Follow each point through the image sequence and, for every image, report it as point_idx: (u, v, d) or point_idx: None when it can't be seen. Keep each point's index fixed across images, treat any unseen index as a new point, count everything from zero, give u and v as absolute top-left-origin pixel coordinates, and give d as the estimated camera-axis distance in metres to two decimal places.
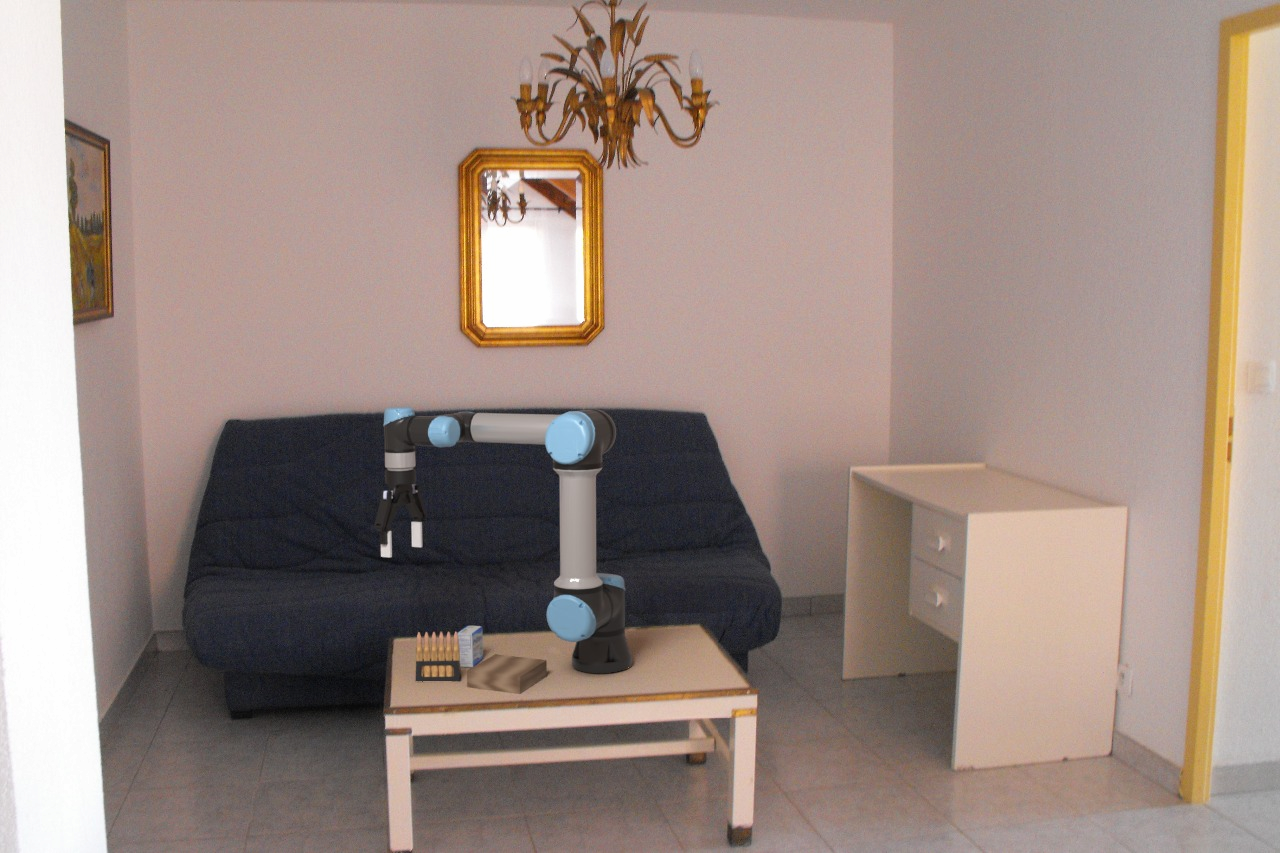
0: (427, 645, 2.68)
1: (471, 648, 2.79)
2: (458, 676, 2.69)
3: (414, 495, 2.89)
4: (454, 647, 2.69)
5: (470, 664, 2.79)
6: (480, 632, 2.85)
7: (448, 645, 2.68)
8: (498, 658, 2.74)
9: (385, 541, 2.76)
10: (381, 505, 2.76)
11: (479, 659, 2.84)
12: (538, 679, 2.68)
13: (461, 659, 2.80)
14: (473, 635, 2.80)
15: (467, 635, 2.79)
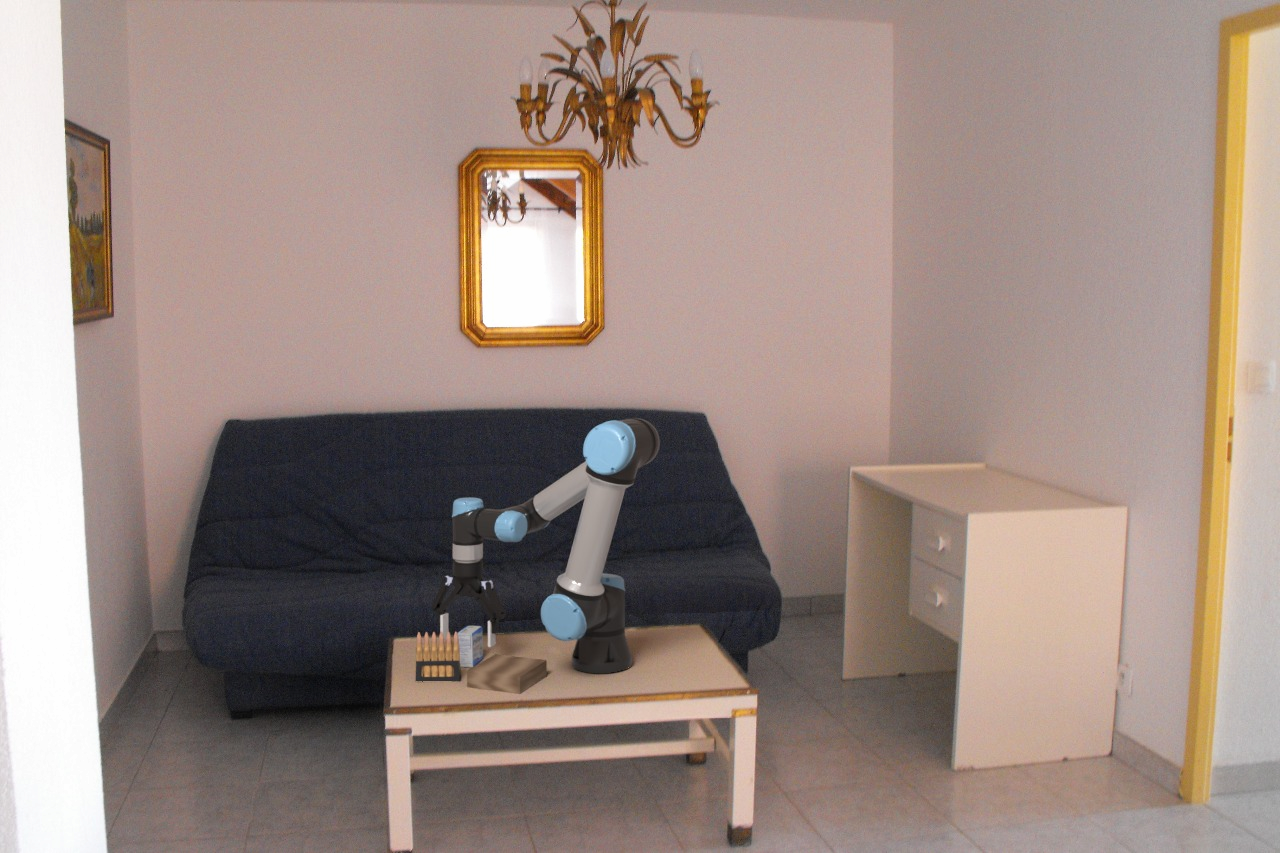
0: (427, 645, 2.68)
1: (471, 648, 2.79)
2: (458, 676, 2.69)
3: None
4: (454, 647, 2.69)
5: (470, 664, 2.79)
6: (480, 632, 2.85)
7: (448, 645, 2.68)
8: (498, 658, 2.74)
9: (438, 623, 2.85)
10: None
11: (479, 659, 2.84)
12: (538, 679, 2.68)
13: (461, 659, 2.80)
14: (473, 635, 2.80)
15: (467, 636, 2.79)
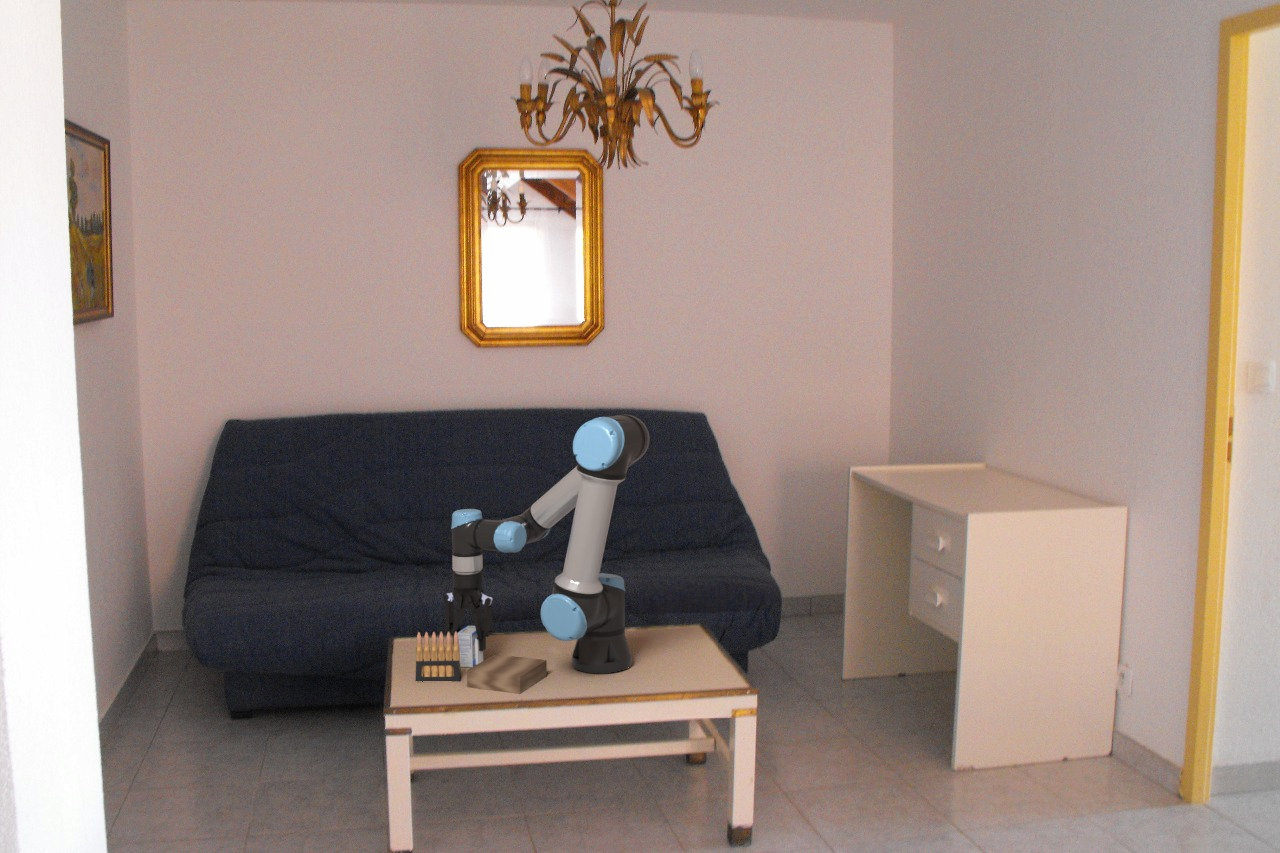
0: (427, 645, 2.68)
1: (471, 648, 2.79)
2: (458, 676, 2.69)
3: None
4: (454, 647, 2.69)
5: (470, 664, 2.79)
6: None
7: (448, 645, 2.68)
8: (498, 658, 2.74)
9: None
10: None
11: None
12: (538, 679, 2.68)
13: (461, 659, 2.80)
14: (473, 635, 2.80)
15: (467, 635, 2.79)
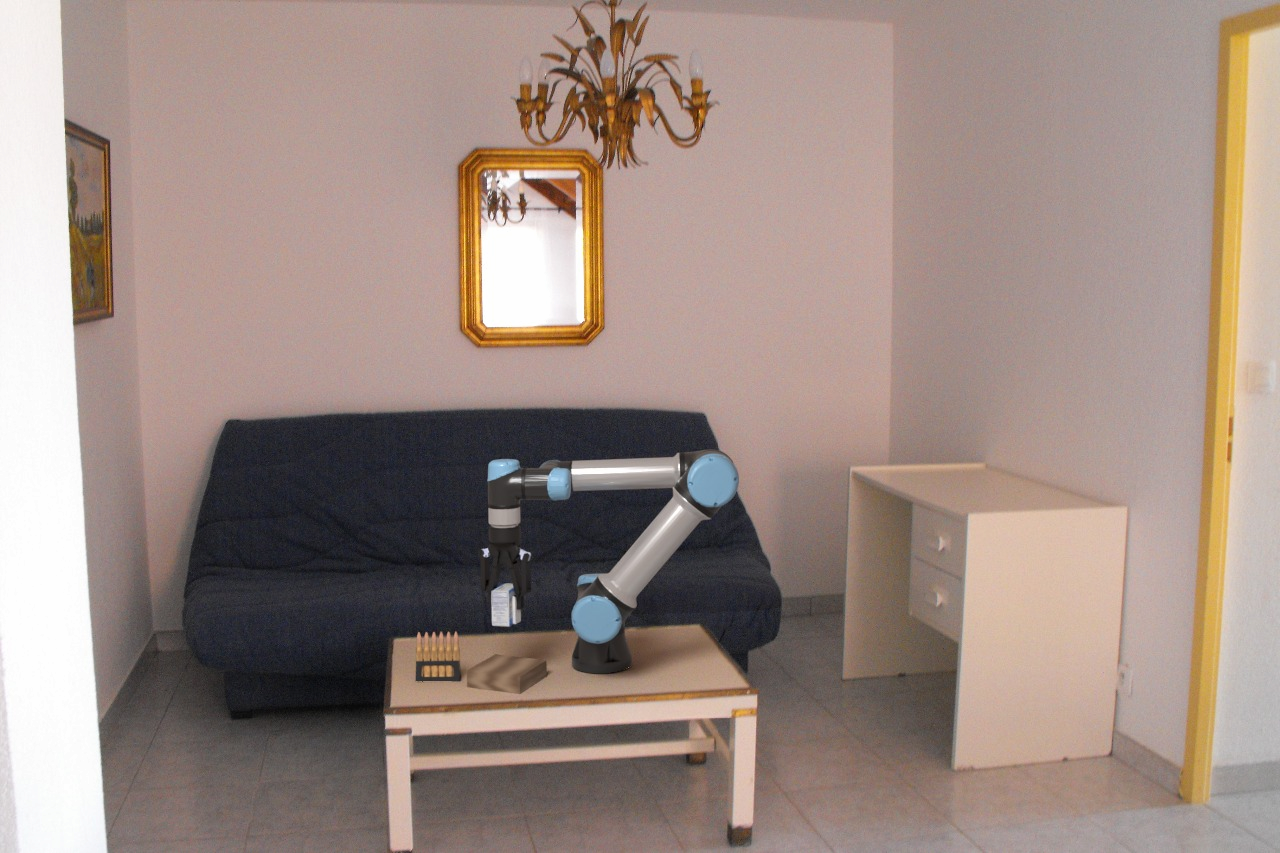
0: (427, 645, 2.68)
1: (508, 606, 2.63)
2: (458, 676, 2.69)
3: None
4: (454, 647, 2.69)
5: (507, 623, 2.63)
6: None
7: (448, 645, 2.68)
8: (498, 658, 2.74)
9: (489, 603, 2.68)
10: None
11: None
12: (538, 679, 2.68)
13: (497, 618, 2.64)
14: (510, 592, 2.64)
15: (504, 593, 2.63)
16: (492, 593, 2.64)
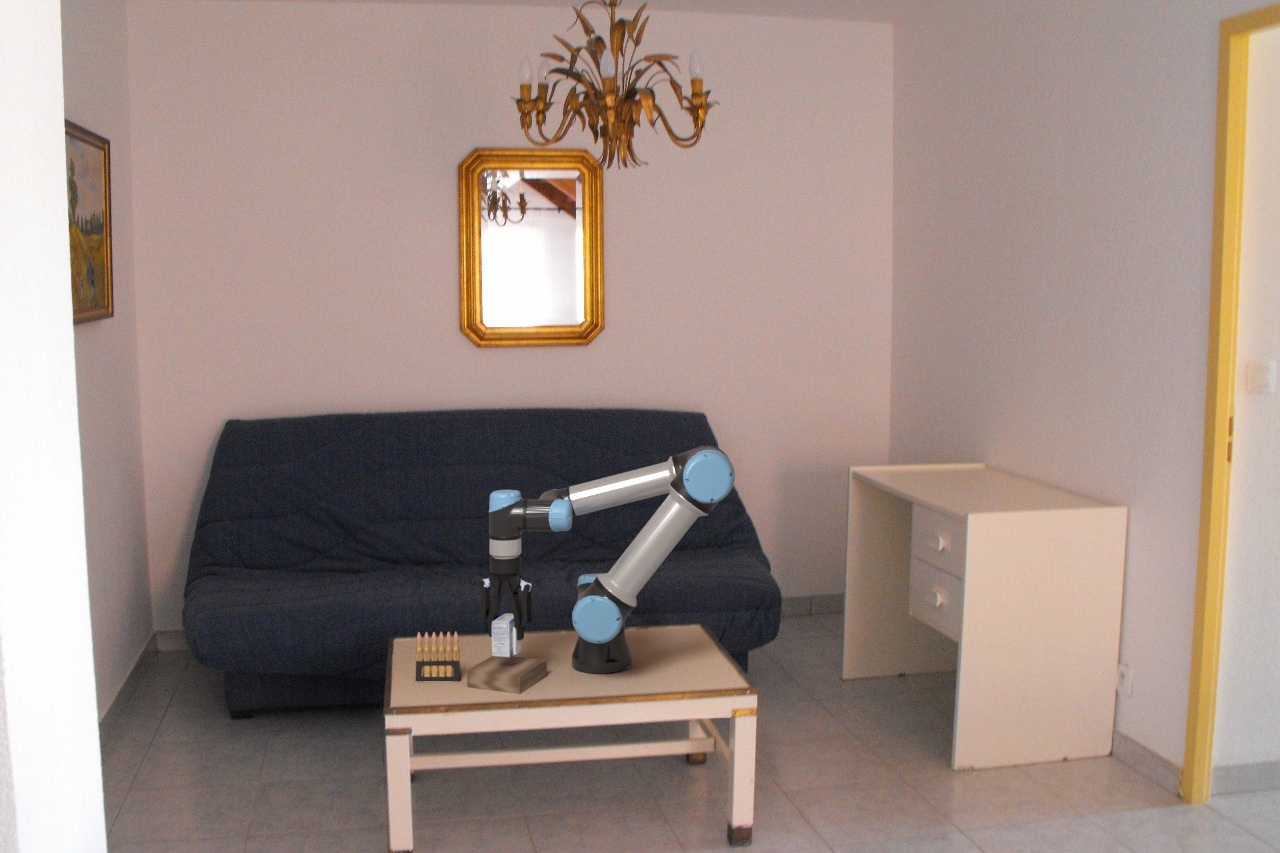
0: (427, 645, 2.68)
1: (508, 637, 2.63)
2: (458, 676, 2.69)
3: None
4: (454, 647, 2.69)
5: (507, 653, 2.64)
6: None
7: (448, 645, 2.68)
8: (498, 658, 2.74)
9: (490, 633, 2.68)
10: None
11: None
12: (538, 679, 2.68)
13: (497, 648, 2.64)
14: (511, 623, 2.64)
15: (504, 624, 2.63)
16: (493, 624, 2.64)
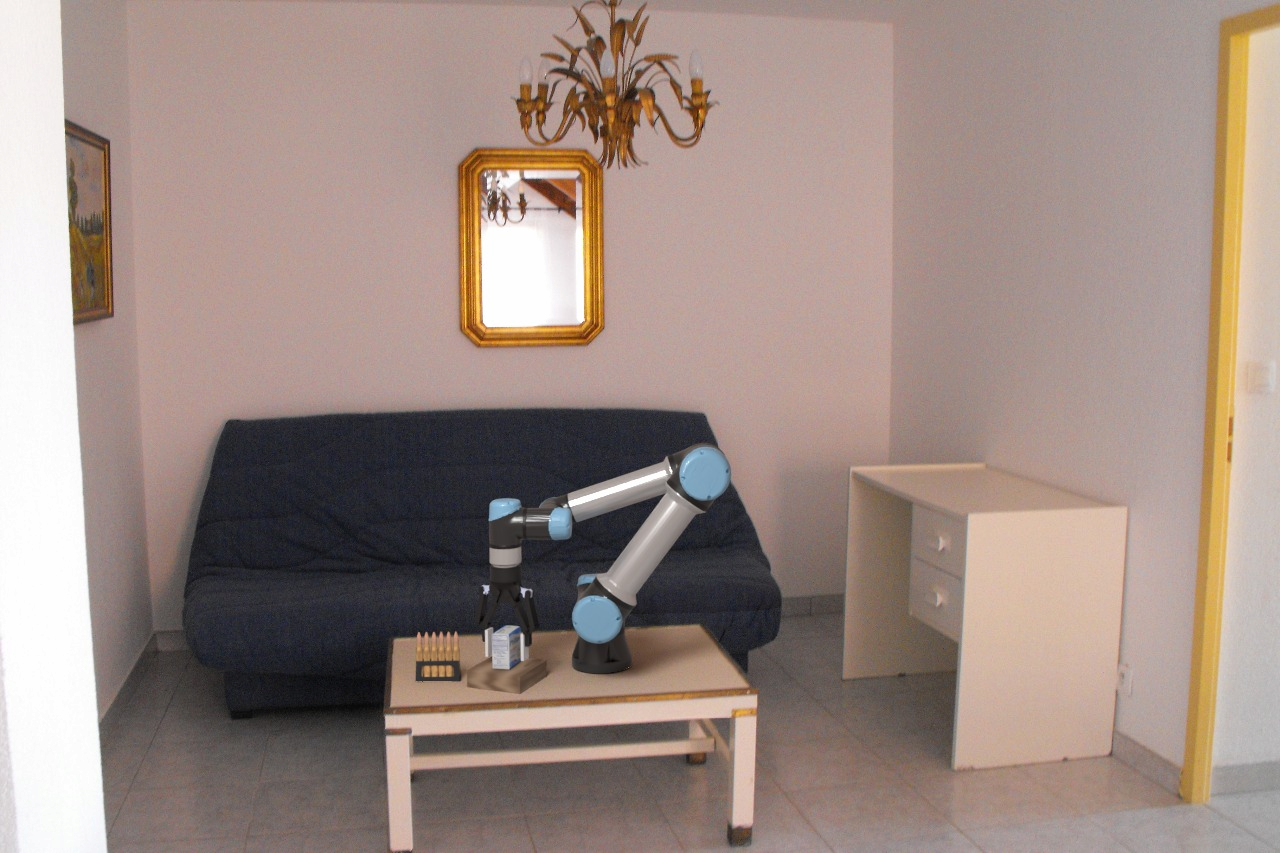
0: (427, 645, 2.68)
1: (508, 649, 2.64)
2: (458, 676, 2.69)
3: None
4: (454, 647, 2.69)
5: (507, 666, 2.64)
6: (518, 632, 2.69)
7: (448, 645, 2.68)
8: None
9: (483, 638, 2.69)
10: None
11: (517, 661, 2.69)
12: (538, 679, 2.68)
13: (497, 661, 2.65)
14: (510, 635, 2.65)
15: (504, 636, 2.64)
16: (492, 636, 2.64)
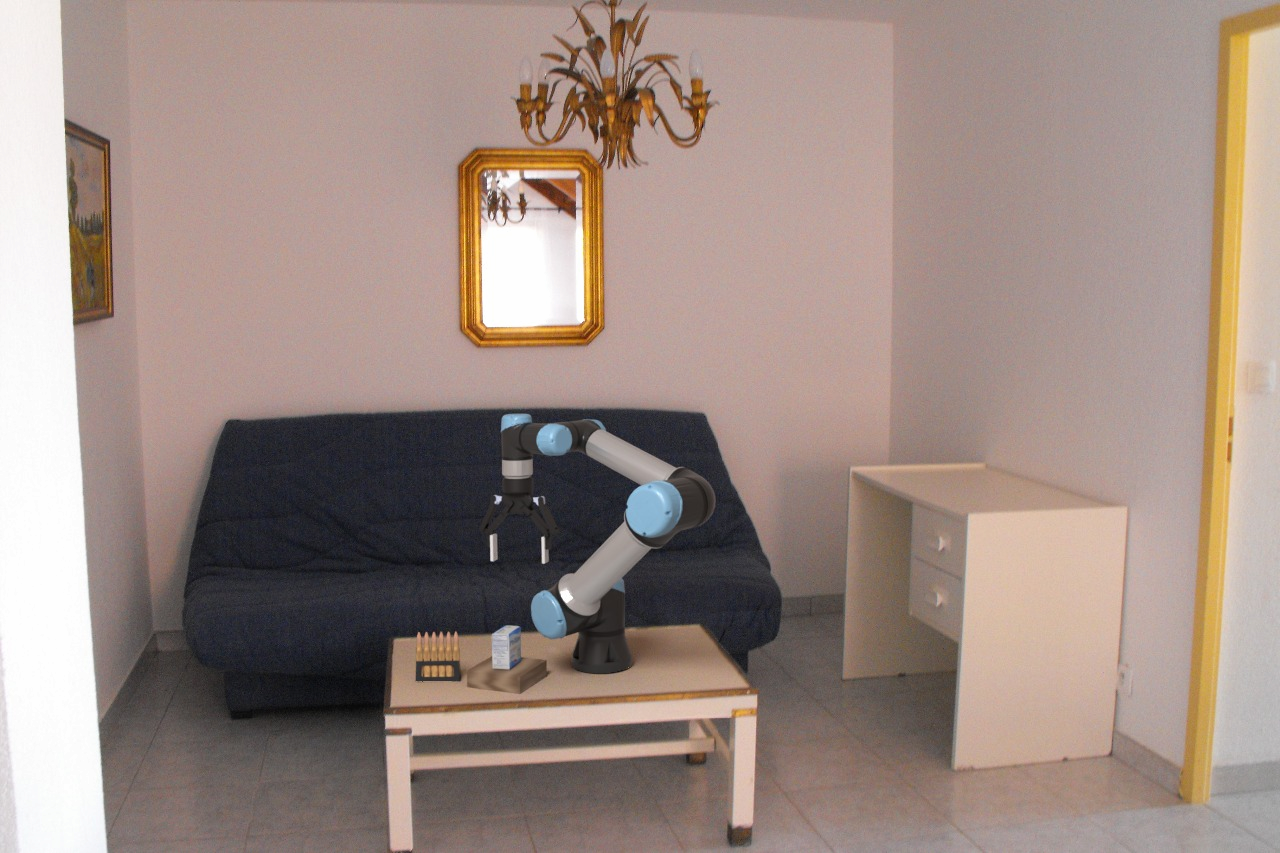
0: (427, 645, 2.68)
1: (508, 649, 2.64)
2: (458, 676, 2.69)
3: None
4: (454, 647, 2.69)
5: (507, 666, 2.64)
6: (518, 632, 2.69)
7: (448, 645, 2.68)
8: None
9: (488, 544, 2.80)
10: None
11: (517, 661, 2.69)
12: (538, 679, 2.68)
13: (497, 661, 2.65)
14: (510, 635, 2.65)
15: (504, 636, 2.64)
16: (492, 636, 2.64)
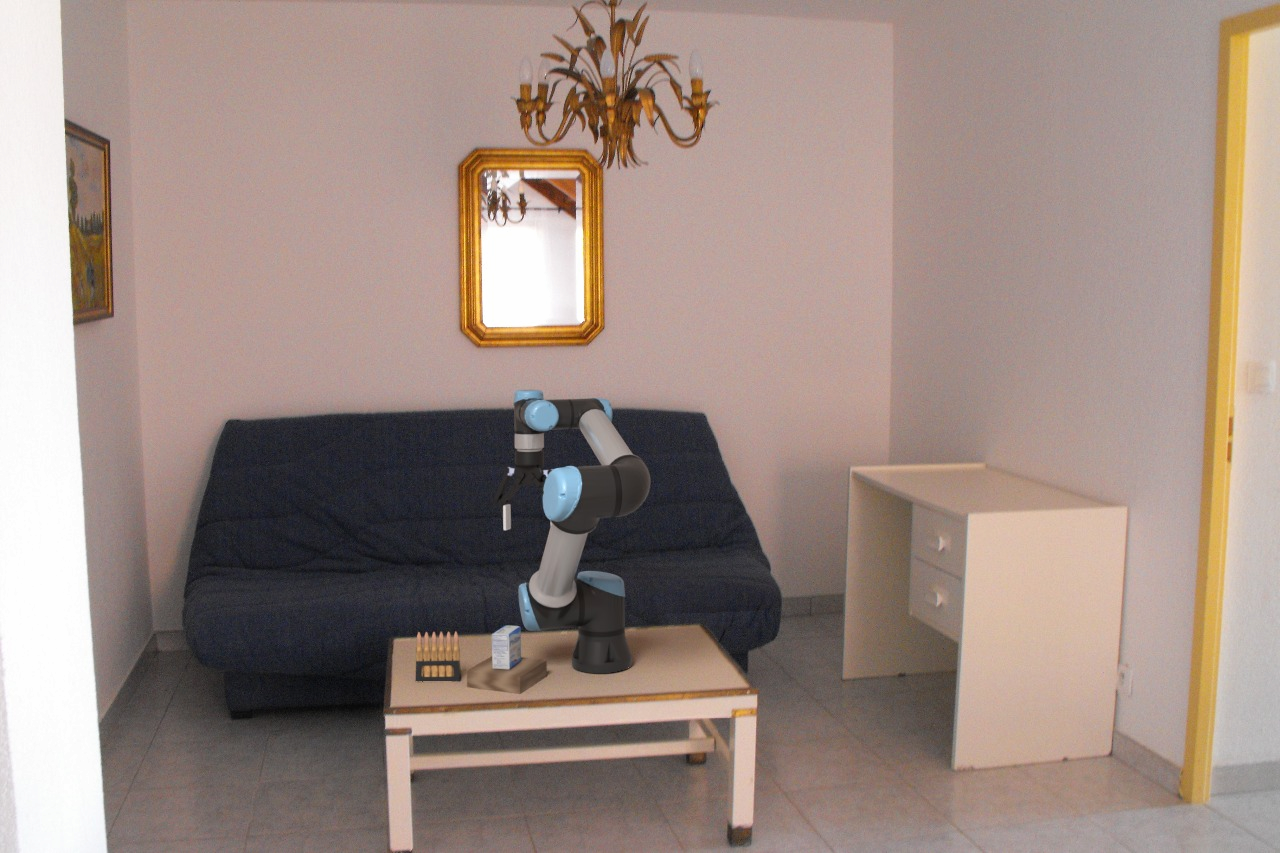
0: (427, 645, 2.68)
1: (508, 649, 2.64)
2: (458, 676, 2.69)
3: None
4: (454, 647, 2.69)
5: (507, 666, 2.64)
6: (518, 632, 2.69)
7: (448, 645, 2.68)
8: None
9: (501, 514, 2.93)
10: None
11: (517, 661, 2.69)
12: (538, 679, 2.68)
13: (497, 661, 2.65)
14: (510, 635, 2.65)
15: (504, 636, 2.64)
16: (492, 636, 2.64)
